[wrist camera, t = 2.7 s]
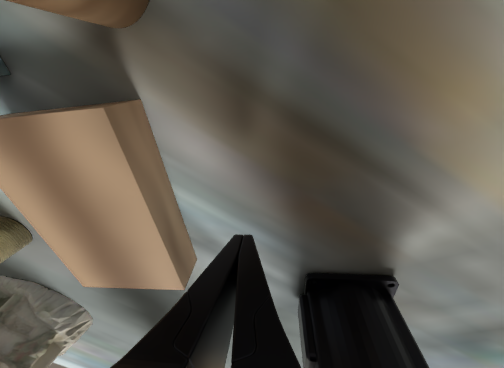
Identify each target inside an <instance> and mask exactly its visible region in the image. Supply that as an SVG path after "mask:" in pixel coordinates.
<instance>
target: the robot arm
mask: <svg viewBox="0 0 504 368" xmlns="http://www.w3.org/2000/svg"><path fill="white" fill-rule="evenodd" d="M398 286H399V284H398V282H397V280H396V279H395V277H392V276H372V275H345V274H317V273H311V274H308V275H306V277H305V287H304V294H301V295H300V296H299V306H298V318H299V328H300V338H301V348H302V358H303V368H429V366H428V364H427V363H426V361H425V359H424V357H423V355H422V353H421V351H420V349H419V347H418V345H417V343H416V341H415V340H414V338H413V336H412V334H411V332H410V330H409V328H408V326H407V324H406V322H405V320H404V318H403V317H402V315H401V313H400V311H399V309H398V307H397V305H396V303H395V301H394V299H393V297H394V295H395V292H396V290H397V288H398ZM233 325H234V330H233ZM232 330H233V346H232V361H231V363H232V365H231V368H301V366H300V364H299V362H298V360H297V358H296V356H295V353H294V351H293V349H292V347H291V345H290V343H289V340H288V338H287V336H286V334H285V331H284V329H283V327H282V324H281V322H280V320H279V317H278V314H277V311H276V309H275V306H274V303H273V299H272V297H271V293H270V290H269V287H268V284H267V280H266V277H265V274H264V271H263V268H262V265H261V261H260V258H259V255H258V252H257V249H256V245H255V242H254V239H253V236H252V235H244V236H243V235H234V236H233V237H232V239H231V240H230V241H229V242H228V243H227V244H226V246H225V247H224V248H223V249H222V250H221V252H220V253H219V254H218V255H217V256H216V257H215V259H214V260H213V261H212V262H211V263H210V265H209V266H208V267H207V268H206V269H205V270H204V272H203V273H202V274H201V275H200V276H199V277H198V279H197V280H196V281H195V282H194V283H193V285H192V286H191V287H190V288H189V289H188V292H186V293H185V294H184V295H183V296H182V297H181V299H180V300H179V301H178V302H177V303H176V304H175V305H174V306H173V308H172V309H171V310H170V311H169V312H168V313H167V314H166V315H165V316H164V317H163V318H162V319H161V320H160V321H159V322H158V323H157V324H156V325H155V326H154V327H153V328H152V329H151V330H150V331H149V332H148V333H147V334H146V335H145V336H144V337H143V338H142V339H141V340H140V341H139V342H138V343H137V344H136V345H135V346H134V347H133V348H132V349H131V350H130V351H129V352H128V353H127V354H126V355H125V356H124V357H123V358H122V359H120V360H119V361H118V362H117V363H116V364H114V365H113V366H112V367H110V368H225V363H226V358H227V353H228V349H229V344H230V339H231V334H232Z"/></svg>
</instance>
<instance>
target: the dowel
mask: <svg viewBox="0 0 504 368" xmlns="http://www.w3.org/2000/svg"><path fill="white" fill-rule="evenodd" d="M6 1H10V2H14V3H18V4H22V5H25V6H29V7H33V8H37V9H41V10H45V11H49V12H52V13H56V14H60V15H64V16H68V17H72V18H75V19H79V20H83V21H87V22H91V23H95V24H99V25H102V26H106V27H110V28H124V27H128V26H130V25H132V24H134V23H135V22H137V21H138V20H139V19H140V18H141V16H142V15H143V13H144V12H145V10H146V8H147V5H148V2H149V0H6Z"/></svg>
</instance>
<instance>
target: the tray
mask: <svg viewBox="0 0 504 368" xmlns="http://www.w3.org/2000/svg"><path fill="white" fill-rule="evenodd" d="M3 75H11V74H10V72H9V71H8V69H7V67H6V66H5V64H4V62H3V60H2V59H1V57H0V76H3Z"/></svg>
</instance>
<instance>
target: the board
mask: <svg viewBox="0 0 504 368" xmlns="http://www.w3.org/2000/svg"><path fill="white" fill-rule="evenodd" d="M0 188H1V189H2V191H3V192H4V193H5V194H6V195H7V196H8V198H9V199H10V200H11V201H12V202H13V204H14V205H15V206H16V207H17V208H18V210H19V211H20V212H21V213H22V214H23V215H24V217H25V218H26V219H27V220H28V221H29V223H30V224H31V225H32V226H33V227H34V229H35V230H36V231H37V232H38V233H39V234H40V236H41V237H42V238H43V239H44V240H45V242H46V243H47V244H48V245H49V246H50V248H51V249H52V250H53V251H54V252H55V253H56V255H57V256H58V257H59V258H60V259H61V261H62V262H63V263H64V264H65V265H66V267H67V268H68V269H69V270H70V271H71V272H72V274H73V275H74V276H75V277H76V278H77V280H78V281H79V282H80V283H81V284H82V286H83V287H104V288H134V289H165V290H185V288H186V285H187V283H188V280H189V278H190V275H191V273H192V270H193V268H194V266H195V263H196V261H197V258H196V255H195V252H194V249H193V247H192V244H191V241H190V238H189V235H188V232H187V229H186V227H185V224H184V221H183V218H182V215H181V212H180V210H179V207H178V204H177V201H176V198H175V195H174V192H173V190H172V187H171V184H170V181H169V178H168V175H167V173H166V170H165V167H164V164H163V161H162V158H161V156H160V153H159V150H158V147H157V144H156V141H155V138H154V136H153V133H152V130H151V127H150V124H149V121H148V119H147V116H146V113H145V110H144V107H143V104H142V101H141V99H139V100H130V101H121V102H112V103H103V104H94V105H85V106H76V107H67V108H58V109H49V110H40V111H30V112H21V113H12V114H6V115H0Z"/></svg>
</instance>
